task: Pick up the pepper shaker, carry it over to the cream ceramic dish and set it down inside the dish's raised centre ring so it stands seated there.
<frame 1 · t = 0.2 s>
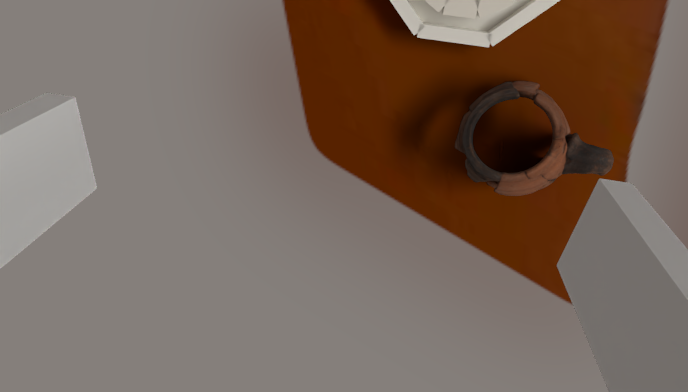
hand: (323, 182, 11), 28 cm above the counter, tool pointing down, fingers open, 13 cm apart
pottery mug: (521, 132, 38), on the counter
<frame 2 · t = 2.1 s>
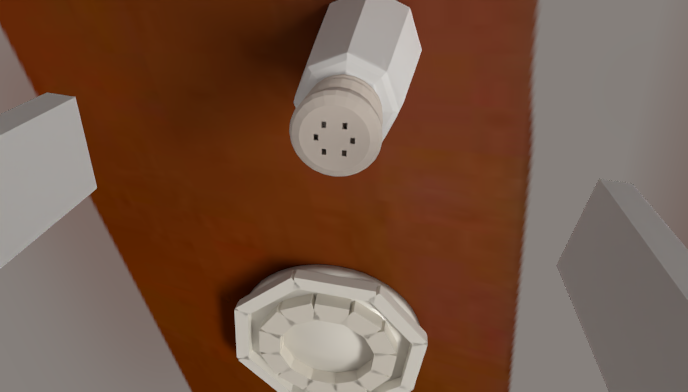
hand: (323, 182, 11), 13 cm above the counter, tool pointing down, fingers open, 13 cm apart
dish: (330, 332, 34), on the counter
pepper shaker: (367, 44, 22), on the counter
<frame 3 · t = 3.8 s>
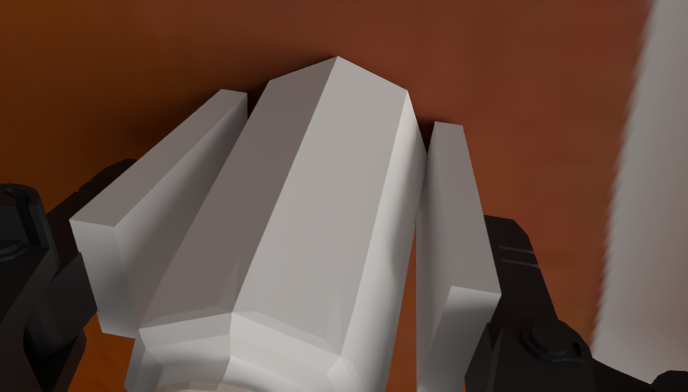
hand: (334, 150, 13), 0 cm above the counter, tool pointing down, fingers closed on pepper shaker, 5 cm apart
pepper shaker: (337, 143, 13), on the counter, touching gripper
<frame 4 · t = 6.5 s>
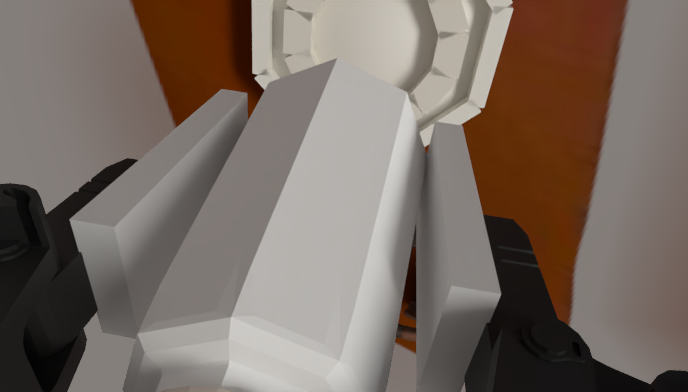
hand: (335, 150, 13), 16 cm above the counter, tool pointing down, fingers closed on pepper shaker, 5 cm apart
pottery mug: (439, 259, 35), on the counter
dish: (375, 36, 26), on the counter
pepper shaker: (337, 144, 13), point 15 cm above the counter, touching gripper
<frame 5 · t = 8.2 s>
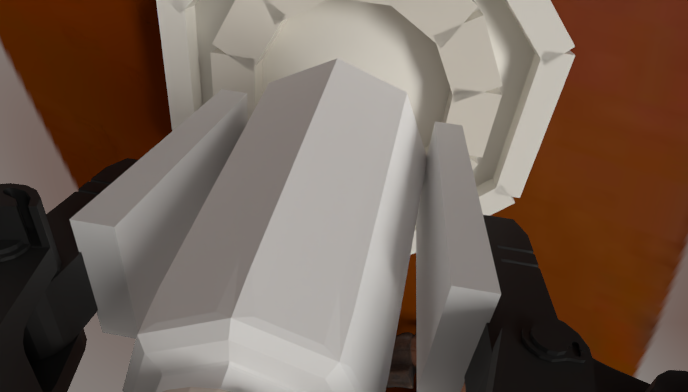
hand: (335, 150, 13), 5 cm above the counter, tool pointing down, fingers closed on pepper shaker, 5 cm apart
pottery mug: (443, 372, 26), on the counter
dish: (355, 88, 17), on the counter
pepper shaker: (337, 145, 13), point 5 cm above the counter, touching gripper
when the fingers open (3 cm above the counter, at t = 9.1 s): pepper shaker drops 1 cm, resting on dish.
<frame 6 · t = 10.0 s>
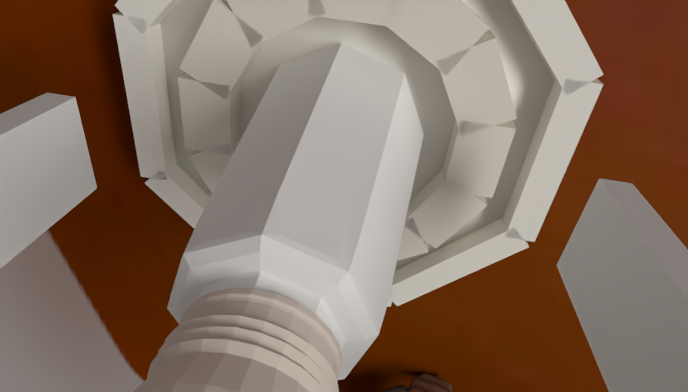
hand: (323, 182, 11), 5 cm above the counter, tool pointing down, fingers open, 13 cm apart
dish: (347, 115, 15), on the counter
pepper shaker: (341, 123, 15), point 1 cm above the counter, touching dish
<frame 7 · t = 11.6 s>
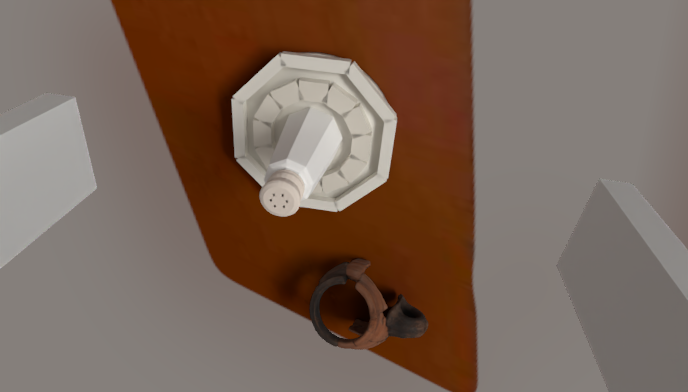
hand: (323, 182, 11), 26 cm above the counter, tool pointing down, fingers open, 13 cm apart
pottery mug: (371, 289, 48), on the counter
dish: (315, 131, 39), on the counter
pepper shaker: (312, 135, 38), point 1 cm above the counter, touching dish
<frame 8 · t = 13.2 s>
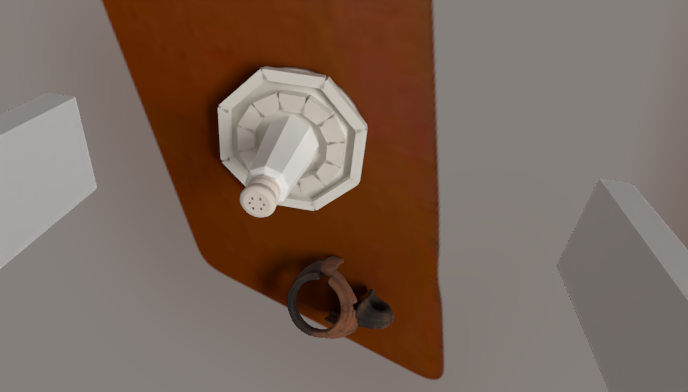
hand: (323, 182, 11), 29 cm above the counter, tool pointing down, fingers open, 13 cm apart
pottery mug: (345, 284, 53), on the counter
dish: (294, 138, 43), on the counter
pepper shaker: (292, 141, 42), point 1 cm above the counter, touching dish
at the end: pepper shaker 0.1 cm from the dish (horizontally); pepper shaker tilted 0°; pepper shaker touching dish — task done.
